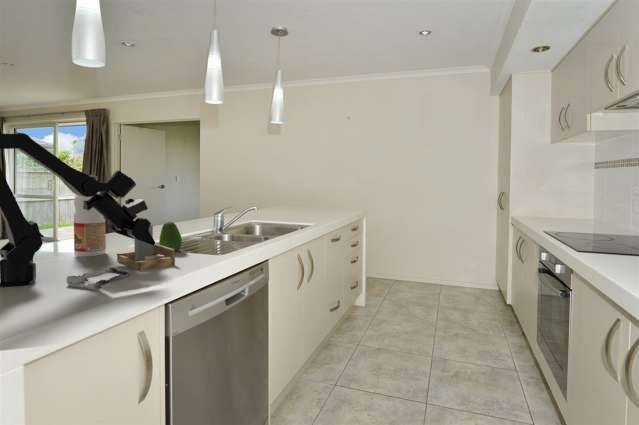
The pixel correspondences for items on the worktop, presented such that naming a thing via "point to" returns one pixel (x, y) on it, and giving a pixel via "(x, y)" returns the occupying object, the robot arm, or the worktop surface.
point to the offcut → (154, 257)
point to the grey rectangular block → (143, 248)
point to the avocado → (170, 236)
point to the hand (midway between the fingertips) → (147, 241)
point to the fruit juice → (88, 229)
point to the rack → (130, 260)
